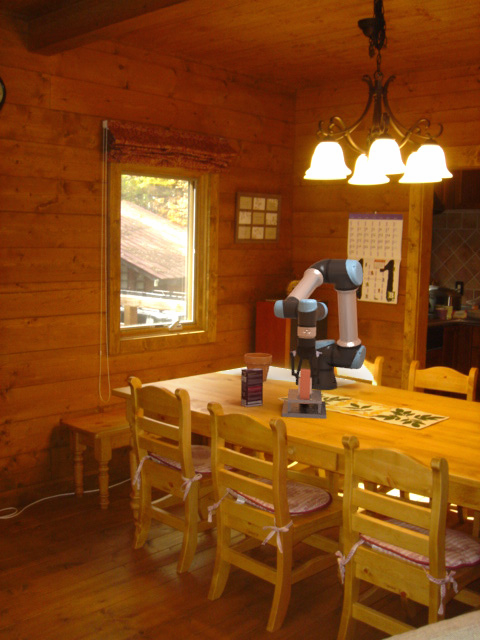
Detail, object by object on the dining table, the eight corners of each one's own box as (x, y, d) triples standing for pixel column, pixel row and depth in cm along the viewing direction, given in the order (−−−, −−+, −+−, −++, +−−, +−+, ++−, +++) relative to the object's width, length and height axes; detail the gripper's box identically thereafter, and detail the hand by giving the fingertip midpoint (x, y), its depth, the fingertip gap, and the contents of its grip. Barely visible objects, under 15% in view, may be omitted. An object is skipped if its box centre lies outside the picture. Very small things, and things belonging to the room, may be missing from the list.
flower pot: (245, 376, 380) (246, 352, 379) (272, 378, 378) (273, 353, 377) (241, 382, 366) (242, 356, 365) (270, 383, 364) (270, 357, 363)
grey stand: (281, 416, 297) (282, 385, 296) (283, 403, 321) (284, 374, 319) (326, 418, 296) (327, 387, 294) (325, 405, 319) (326, 376, 318)
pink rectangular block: (299, 403, 300) (300, 369, 298) (299, 401, 304) (300, 368, 302) (309, 403, 299) (310, 370, 298) (309, 401, 303) (310, 368, 302)
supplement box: (256, 403, 320) (257, 367, 319) (262, 405, 316) (263, 369, 314) (240, 405, 316) (240, 369, 314) (245, 407, 312) (246, 370, 310)
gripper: (285, 337, 296) (283, 393, 298) (327, 338, 294) (325, 395, 297) (286, 335, 303) (284, 390, 306) (327, 336, 302) (325, 392, 304)
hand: (304, 392), depth 301 cm, fingers closed on pink rectangular block, 4 cm apart
